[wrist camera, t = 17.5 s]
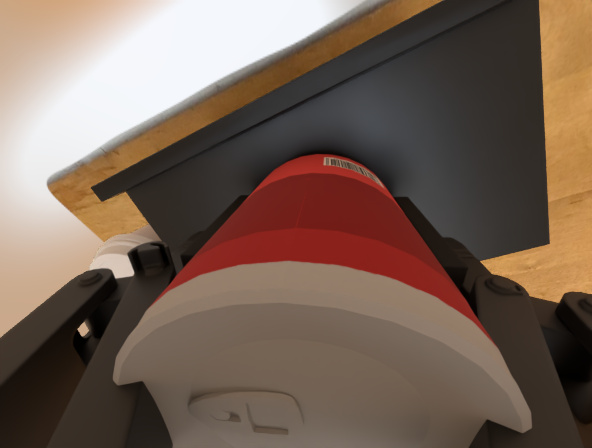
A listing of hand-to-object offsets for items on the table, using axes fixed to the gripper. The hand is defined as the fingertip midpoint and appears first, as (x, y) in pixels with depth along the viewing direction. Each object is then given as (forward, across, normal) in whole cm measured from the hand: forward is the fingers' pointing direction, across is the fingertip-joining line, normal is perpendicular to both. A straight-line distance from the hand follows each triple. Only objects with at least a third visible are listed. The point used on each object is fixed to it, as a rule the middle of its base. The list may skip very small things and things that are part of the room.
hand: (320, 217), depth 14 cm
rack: (+18, 0, 0) cm, 18 cm away
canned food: (0, 0, 0) cm, 0 cm away
